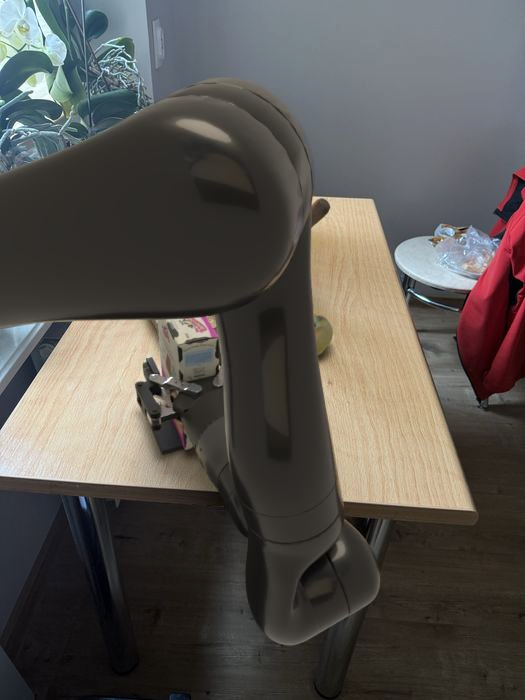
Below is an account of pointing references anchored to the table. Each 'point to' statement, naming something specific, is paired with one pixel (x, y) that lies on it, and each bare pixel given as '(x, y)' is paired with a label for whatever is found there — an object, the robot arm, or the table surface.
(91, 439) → the table surface
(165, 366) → the candy bar box
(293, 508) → the robot arm
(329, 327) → the apple
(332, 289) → the table surface
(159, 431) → the mat
